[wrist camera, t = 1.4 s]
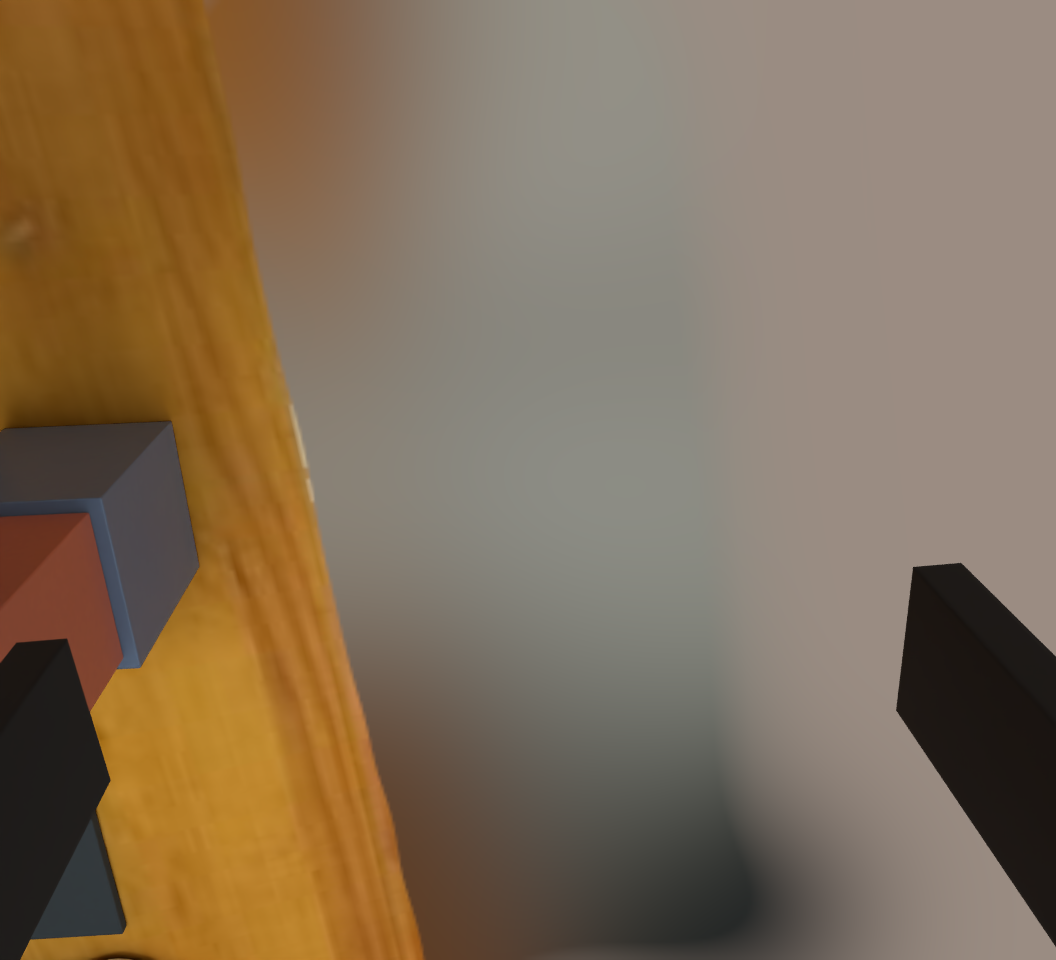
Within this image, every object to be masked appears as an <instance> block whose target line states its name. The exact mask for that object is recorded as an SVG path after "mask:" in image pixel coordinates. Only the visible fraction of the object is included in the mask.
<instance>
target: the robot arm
mask: <svg viewBox="0 0 1056 960" xmlns="http://www.w3.org/2000/svg"><path fill="white" fill-rule="evenodd" d="M896 711H897V712H898V714H899V715H900V717H901V718H902V720H903V721H904V723H905V724H906V725H907V727H908V729H909V730H910V731H911V733H912V734H913V736H914V737H915V739H916V740H917V742H918V743H919V745H920V746H921V748H922V749H923V751H924V752H925V753H926V755H927V757H928V758H929V760H930V761H931V762H932V764H933V766H934V767H935V769H936V770H937V772H938V773H939V774H940V776H941V777H942V779H943V780H944V782H945V783H946V785H947V786H948V788H949V789H950V791H951V792H952V794H953V795H954V797H955V798H956V800H957V801H958V803H959V804H960V806H961V807H962V808H963V810H964V812H965V813H966V814H967V816H968V817H969V819H970V820H971V822H972V823H973V825H974V826H975V828H976V829H977V831H978V832H979V834H980V835H981V836H982V838H983V840H984V841H985V843H986V844H987V846H988V847H989V848H990V850H991V851H992V853H993V854H994V856H995V857H996V859H997V860H998V862H999V863H1000V865H1001V866H1002V868H1003V869H1004V871H1005V872H1006V874H1007V875H1008V877H1009V878H1010V880H1011V881H1012V883H1013V884H1014V885H1015V887H1016V889H1017V890H1018V892H1019V893H1020V894H1021V896H1022V897H1023V899H1024V900H1025V902H1026V903H1027V905H1028V906H1029V908H1030V909H1031V911H1032V912H1033V914H1034V915H1035V917H1036V918H1037V920H1038V921H1039V923H1040V924H1041V925H1042V927H1043V929H1044V930H1045V931H1046V933H1047V934H1048V936H1049V937H1050V939H1051V940H1052V942H1053V943H1054V945H1055V946H1056V656H1055V655H1053V653H1052V652H1051V651H1050V650H1049V649H1048V648H1047V647H1046V646H1045V645H1044V644H1043V643H1041V641H1039V640H1038V639H1037V638H1036V637H1035V636H1034V635H1033V634H1032V633H1031V632H1030V631H1029V630H1028V629H1027V628H1026V627H1025V626H1024V625H1023V624H1022V623H1021V622H1020V621H1019V620H1018V619H1017V618H1016V617H1015V616H1014V615H1013V614H1012V613H1011V612H1010V611H1009V610H1008V609H1007V608H1006V607H1005V606H1004V605H1003V604H1002V603H1001V602H1000V601H999V600H998V599H997V598H996V597H995V596H994V595H993V594H992V593H991V592H990V591H989V590H988V589H987V588H986V587H985V586H984V585H983V584H982V583H981V582H980V581H979V580H978V579H977V578H976V577H974V575H973V574H972V573H971V572H970V571H969V570H968V569H967V568H966V567H965V566H964V565H962V564H961V563H956V564H944V565H933V566H921V567H913V573H912V582H911V590H910V599H909V607H908V616H907V623H906V632H905V640H904V649H903V657H902V666H901V675H900V683H899V691H898V700H897V709H896ZM109 782H110V777H109V773H108V770H107V767H106V764H105V760H104V757H103V754H102V751H101V747H100V744H99V741H98V737H97V734H96V731H95V728H94V724H93V721H92V718H91V715H90V711H89V708H88V705H87V702H86V698H85V695H84V692H83V688H82V685H81V682H80V679H79V675H78V672H77V669H76V666H75V662H74V659H73V656H72V652H71V649H70V646H69V643H68V639H67V638H65V639H53V640H41V641H29V642H18V643H16V644H15V645H14V646H13V647H12V649H11V650H10V651H9V653H8V654H7V655H6V656H5V658H4V659H3V660H2V661H1V663H0V960H20V959H21V957H22V955H23V953H24V951H25V949H26V947H27V945H28V943H29V941H30V939H31V937H32V935H33V933H34V931H35V929H36V927H37V925H38V923H39V921H40V919H41V917H42V915H43V913H44V911H45V909H46V907H47V905H48V903H49V901H50V899H51V897H52V895H53V893H54V891H55V889H56V887H57V885H58V883H59V881H60V879H61V877H62V875H63V873H64V871H65V869H66V867H67V866H68V864H69V862H70V860H71V858H72V856H73V854H74V852H75V850H76V848H77V846H78V844H79V842H80V840H81V838H82V836H83V834H84V832H85V830H86V828H87V826H88V824H89V822H90V820H91V818H92V816H93V814H94V812H95V810H96V808H97V806H98V804H99V802H100V800H101V798H102V796H103V794H104V792H105V790H106V788H107V786H108V784H109Z"/></svg>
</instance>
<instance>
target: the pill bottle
mask: <svg viewBox="0 0 1056 960" xmlns="http://www.w3.org/2000/svg"><path fill="white" fill-rule="evenodd" d="M108 960H132V959H122V958H116V959H108Z"/></svg>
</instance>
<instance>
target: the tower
mask: <svg viewBox="0 0 1056 960" xmlns="http://www.w3.org/2000/svg"><path fill="white" fill-rule="evenodd" d="M198 568H199V562H198V557H197V552H196V547H195V542H194V536H193V531H192V526H191V521H190V515H189V510H188V505H187V500H186V495H185V489H184V484H183V479H182V474H181V468H180V463H179V458H178V453H177V448H176V442H175V437H174V432H173V427H172V422H171V421H166V422H143V423H121V424H99V425H76V426H54V427H31V428H9V429H3V430H2V431H1V432H0V663H1V661H2V660H3V659H4V658H5V656H6V655H7V654H8V653H9V651H10V650H11V649H12V647H13V646H14V645H15V644H16V643H18V642H29V641H41V640H53V639H65V638H67V639H68V643H69V646H70V649H71V652H72V656H73V659H74V662H75V666H76V669H77V672H78V675H79V679H80V682H81V685H82V688H83V692H84V695H85V698H86V702H87V705H88V708H89V711H91V709H92V707H93V706H94V704H95V703H96V701H97V699H98V698H99V696H100V695H101V693H102V691H103V690H104V688H105V687H106V685H107V683H108V682H109V680H110V679H111V677H112V675H113V674H114V672H115V671H116V669H129V668H140V667H141V666H142V664H143V662H144V661H145V659H146V657H147V655H148V654H149V652H150V650H151V649H152V647H153V645H154V643H155V642H156V640H157V638H158V637H159V635H160V633H161V631H162V630H163V628H164V626H165V625H166V623H167V621H168V619H169V618H170V616H171V614H172V613H173V611H174V609H175V607H176V606H177V604H178V602H179V601H180V599H181V597H182V595H183V594H184V592H185V590H186V589H187V587H188V585H189V583H190V582H191V580H192V578H193V577H194V575H195V573H196V571H197V570H198Z"/></svg>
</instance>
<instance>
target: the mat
mask: <svg viewBox="0 0 1056 960" xmlns="http://www.w3.org/2000/svg"><path fill="white" fill-rule="evenodd" d="M125 927H126V922H125V918H124V915H123V911H122V907H121V904H120V900H119V896H118V893H117V889H116V885H115V882H114V878H113V874H112V871H111V867H110V863H109V860H108V856H107V852H106V849H105V845H104V841H103V838H102V834H101V830H100V827H99V823H98V819H97V816H96V812H94V814H93V816H92V818H91V820H90V822H89V824H88V826H87V828H86V830H85V832H84V834H83V836H82V838H81V840H80V842H79V844H78V846H77V848H76V850H75V852H74V854H73V856H72V858H71V860H70V862H69V864H68V866H67V867H66V869H65V871H64V873H63V875H62V877H61V879H60V881H59V883H58V885H57V887H56V889H55V891H54V893H53V895H52V897H51V899H50V901H49V903H48V905H47V907H46V909H45V911H44V913H43V915H42V917H41V919H40V921H39V923H38V925H37V927H36V929H35V931H34V933H33V935H32V937H31V939H46V938H63V937H79V936H96V935H112V934H123V932H124V930H125Z"/></svg>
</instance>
